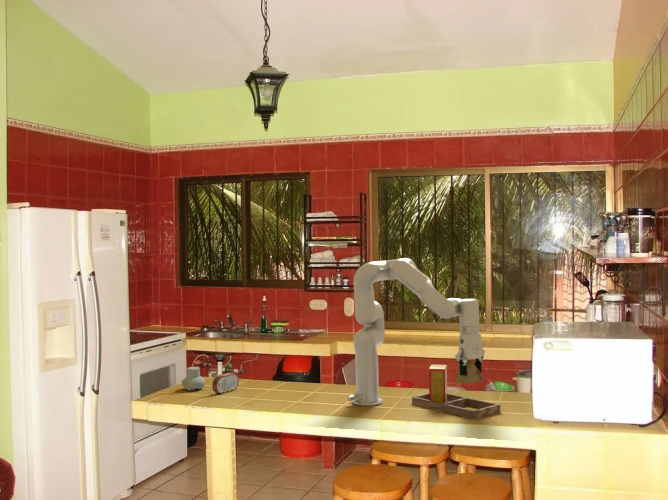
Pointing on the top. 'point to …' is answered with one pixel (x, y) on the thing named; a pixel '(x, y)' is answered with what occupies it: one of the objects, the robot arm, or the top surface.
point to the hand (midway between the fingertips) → (470, 373)
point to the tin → (225, 382)
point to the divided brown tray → (458, 405)
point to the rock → (469, 374)
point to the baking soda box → (438, 383)
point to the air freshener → (193, 379)
